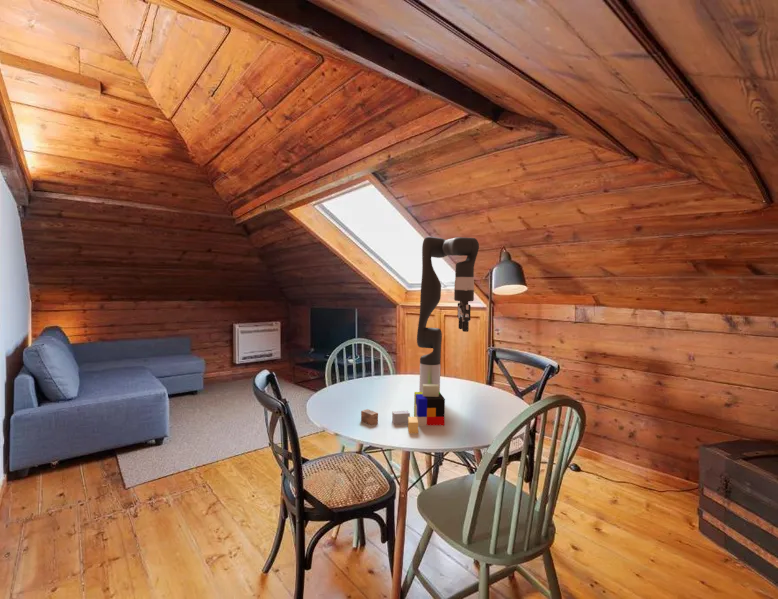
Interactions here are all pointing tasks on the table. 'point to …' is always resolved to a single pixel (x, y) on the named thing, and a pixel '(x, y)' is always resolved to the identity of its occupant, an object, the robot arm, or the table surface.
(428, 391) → the cream brick
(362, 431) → the table surface
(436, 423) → the puzzle toy
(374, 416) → the walnut brick
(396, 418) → the slate brick
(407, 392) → the table surface
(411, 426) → the mustard brick
